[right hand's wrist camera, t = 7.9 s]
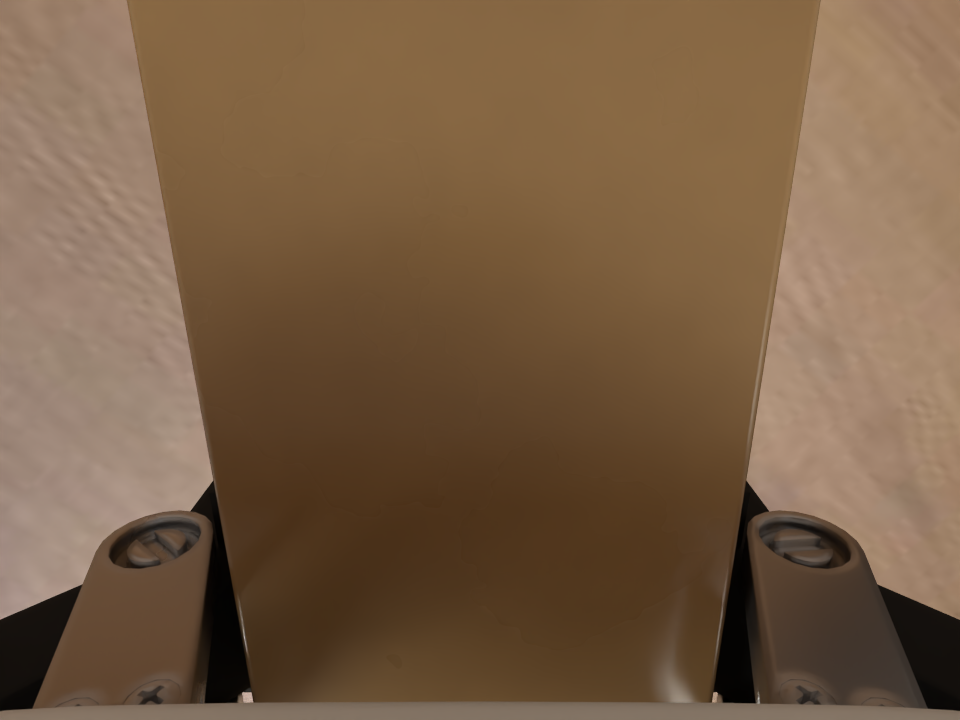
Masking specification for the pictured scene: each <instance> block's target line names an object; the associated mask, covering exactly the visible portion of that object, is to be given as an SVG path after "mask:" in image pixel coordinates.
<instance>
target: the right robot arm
mask: <svg viewBox="0 0 960 720" xmlns="http://www.w3.org/2000/svg"><path fill="white" fill-rule="evenodd" d="M242 692H252V691H251V685H250V680H249V674H248V669H247V663H246V658H245V652H244V647H243V641H242V635H241V630H240V624H239V619H238V613H237V608H236V602H235V597H234V591H233V586H232V580H231V574H230V569H229V563H228V558H227V552H226V547H225V541H224V536H223V530H222V525H221V519H220V513H219V508H218V502H217V497H216V491H215V486H214V480H213V482H212V483H211V484H210V486H209V487H208V488H207V490H206V491H205V492H204V494H203V495H202V496H201V498H200V499H199V500H198V502H197V503H196V504H195V506H194V507H193V508H192V510H191V511H190V512H189V511H169V512H161V513H157V514H153V515H149V516H145V517H143V518H140V519H137V520H135V521H132V522H130V523H128V524H126V525H124V526H123V527H121V528H119V529H117V530H116V531H114V532H113V533H112V534H111V535H110V536H108V537H107V538H106V539H105V540H104V541H103V542H102V543H101V545H100V546H99V548H98V549H97V551H96V553H95V556H94V558H93V560H92V563H91V565H90V568H89V570H88V573H87V575H86V578H85V580H84V583H83V584H82V585H80V586H78V587H75V588H73V589H71V590H68V591H66V592H64V593H61V594H59V595H57V596H54V597H52V598H50V599H48V600H45V601H43V602H41V603H38V604H36V605H34V606H31V607H29V608H27V609H24V610H22V611H20V612H17V613H15V614H13V615H10V616H8V617H6V618H3V619H1V620H0V720H960V620H959V619H956V618H954V617H952V616H949V615H947V614H945V613H942V612H940V611H938V610H935V609H933V608H931V607H928V606H926V605H924V604H921V603H919V602H917V601H914V600H912V599H910V598H907V597H905V596H903V595H901V594H898V593H896V592H894V591H891V590H889V589H887V588H884V587H882V586H880V585H877V583H876V580H875V578H874V575H873V573H872V570H871V568H870V565H869V563H868V560H867V558H866V556H865V553H864V551H863V549H862V548H861V546H860V545H859V543H858V542H857V541H856V540H855V539H854V538H853V537H852V536H850V535H849V534H848V533H847V532H846V531H844V530H843V529H841V528H839V527H837V526H836V525H834V524H832V523H830V522H828V521H825V520H823V519H820V518H817V517H815V516H811V515H807V514H803V513H799V512H791V511H771V512H769V510H768V509H767V508H766V506H765V505H764V504H763V502H762V501H761V500H760V498H759V497H758V496H757V494H756V493H755V492H754V490H753V489H752V488H751V486H750V485H749V484H748V482H747V481H746V484H745V491H744V497H743V504H742V510H741V517H740V523H739V530H738V536H737V543H736V549H735V555H734V562H733V568H732V575H731V581H730V588H729V594H728V601H727V607H726V613H725V620H724V626H723V633H722V639H721V646H720V652H719V659H718V665H717V672H716V678H715V684H714V691H713V692H717V693H718V696H717V702H716V703H677V702H283V703H244V702H243V696H242Z"/></svg>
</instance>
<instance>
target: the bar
mask: <svg viewBox="0 0 960 720" xmlns="http://www.w3.org/2000/svg"><path fill="white" fill-rule="evenodd" d="M820 1H821V0H127V3H128V9H129V14H130V20H131V25H132V31H133V37H134V42H135V48H136V53H137V59H138V64H139V70H140V75H141V81H142V86H143V92H144V98H145V103H146V109H147V114H148V120H149V125H150V131H151V136H152V142H153V147H154V153H155V159H156V164H157V170H158V175H159V181H160V186H161V192H162V197H163V203H164V208H165V214H166V220H167V225H168V231H169V236H170V242H171V247H172V253H173V258H174V264H175V269H176V275H177V281H178V286H179V292H180V297H181V303H182V308H183V314H184V319H185V325H186V330H187V336H188V342H189V347H190V353H191V358H192V364H193V369H194V375H195V380H196V386H197V391H198V397H199V403H200V408H201V414H202V419H203V425H204V430H205V436H206V441H207V447H208V452H209V458H210V464H211V469H212V475H213V480H214V486H215V491H216V497H217V502H218V508H219V513H220V519H221V525H222V530H223V536H224V541H225V547H226V552H227V558H228V563H229V569H230V574H231V580H232V586H233V591H234V597H235V602H236V608H237V613H238V619H239V624H240V630H241V635H242V641H243V647H244V652H245V658H246V663H247V669H248V674H249V680H250V685H251V691H252V696H253V702H254V703H283V702H677V703H712V697H713V691H714V684H715V678H716V672H717V665H718V659H719V652H720V646H721V639H722V633H723V626H724V620H725V613H726V607H727V601H728V594H729V588H730V581H731V575H732V568H733V562H734V555H735V549H736V543H737V536H738V530H739V523H740V517H741V510H742V504H743V497H744V491H745V484H746V478H747V472H748V465H749V459H750V452H751V446H752V439H753V433H754V426H755V420H756V413H757V407H758V401H759V394H760V388H761V381H762V375H763V368H764V362H765V355H766V349H767V342H768V336H769V330H770V323H771V317H772V310H773V304H774V297H775V291H776V284H777V278H778V272H779V265H780V259H781V252H782V246H783V239H784V233H785V226H786V220H787V213H788V207H789V201H790V194H791V188H792V181H793V175H794V168H795V162H796V155H797V149H798V142H799V136H800V130H801V123H802V117H803V110H804V104H805V97H806V91H807V84H808V78H809V71H810V65H811V59H812V52H813V46H814V39H815V33H816V26H817V20H818V13H819V7H820Z"/></svg>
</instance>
